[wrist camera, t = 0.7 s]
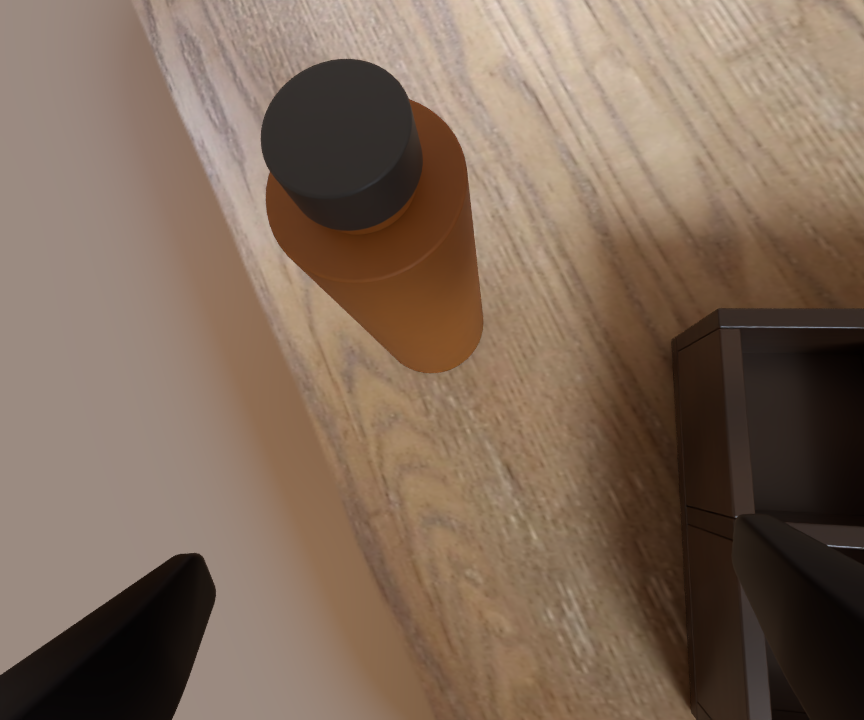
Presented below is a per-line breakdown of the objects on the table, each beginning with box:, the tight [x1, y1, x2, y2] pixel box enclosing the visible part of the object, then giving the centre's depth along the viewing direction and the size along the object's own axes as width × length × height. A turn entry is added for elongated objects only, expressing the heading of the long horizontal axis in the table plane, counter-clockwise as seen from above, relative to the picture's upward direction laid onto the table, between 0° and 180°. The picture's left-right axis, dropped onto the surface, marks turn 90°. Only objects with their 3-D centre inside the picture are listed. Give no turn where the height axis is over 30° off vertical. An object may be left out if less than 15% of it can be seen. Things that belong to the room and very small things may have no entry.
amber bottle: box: [261, 59, 483, 373], centre depth 16 cm, size 5×5×14 cm
